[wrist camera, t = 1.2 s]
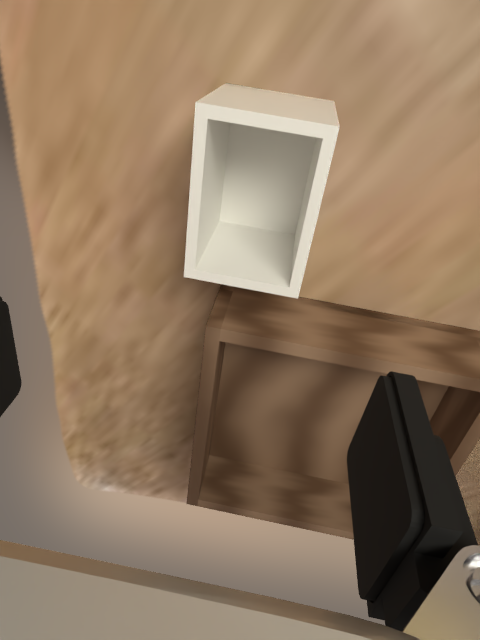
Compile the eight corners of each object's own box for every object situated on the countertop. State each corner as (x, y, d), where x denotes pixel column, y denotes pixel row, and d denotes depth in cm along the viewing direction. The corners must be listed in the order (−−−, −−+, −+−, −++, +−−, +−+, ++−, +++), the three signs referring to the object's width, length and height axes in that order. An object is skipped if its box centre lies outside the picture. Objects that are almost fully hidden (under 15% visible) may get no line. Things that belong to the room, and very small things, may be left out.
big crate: (484, 332, 33) (514, 385, 28) (396, 492, 44) (406, 550, 39) (222, 282, 34) (205, 325, 29) (201, 451, 45) (186, 503, 40)
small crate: (334, 100, 26) (339, 126, 20) (302, 240, 31) (297, 298, 25) (226, 82, 26) (195, 101, 20) (211, 224, 32) (183, 276, 25)
